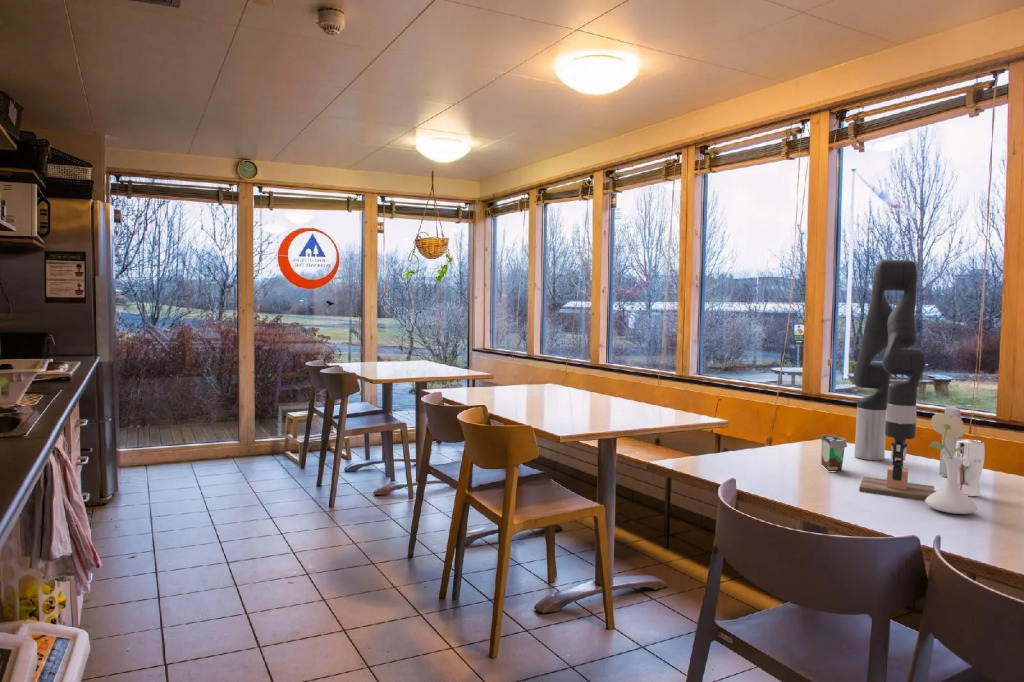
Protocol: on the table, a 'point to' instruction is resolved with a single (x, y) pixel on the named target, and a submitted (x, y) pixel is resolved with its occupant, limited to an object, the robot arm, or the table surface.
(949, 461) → the flower in vase
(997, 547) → the table surface
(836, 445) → the food container
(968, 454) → the beer glass
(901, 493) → the walnut board
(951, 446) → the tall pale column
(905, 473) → the terracotta cube
